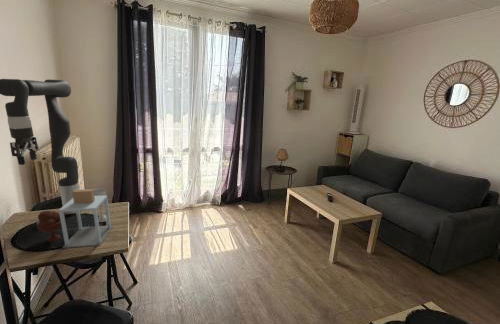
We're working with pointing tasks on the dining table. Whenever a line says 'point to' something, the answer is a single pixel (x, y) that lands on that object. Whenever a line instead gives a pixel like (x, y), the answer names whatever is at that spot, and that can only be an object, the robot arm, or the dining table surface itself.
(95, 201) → the cover
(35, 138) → the robot arm
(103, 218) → the chalice
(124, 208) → the dining table surface
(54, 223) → the ice cream bowl
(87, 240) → the mat
